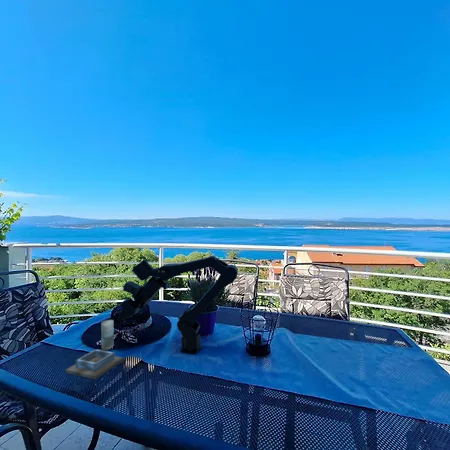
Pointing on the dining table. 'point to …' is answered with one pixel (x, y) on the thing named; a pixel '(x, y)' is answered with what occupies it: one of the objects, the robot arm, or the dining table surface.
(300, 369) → the dining table surface
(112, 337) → the peg
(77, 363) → the socket
